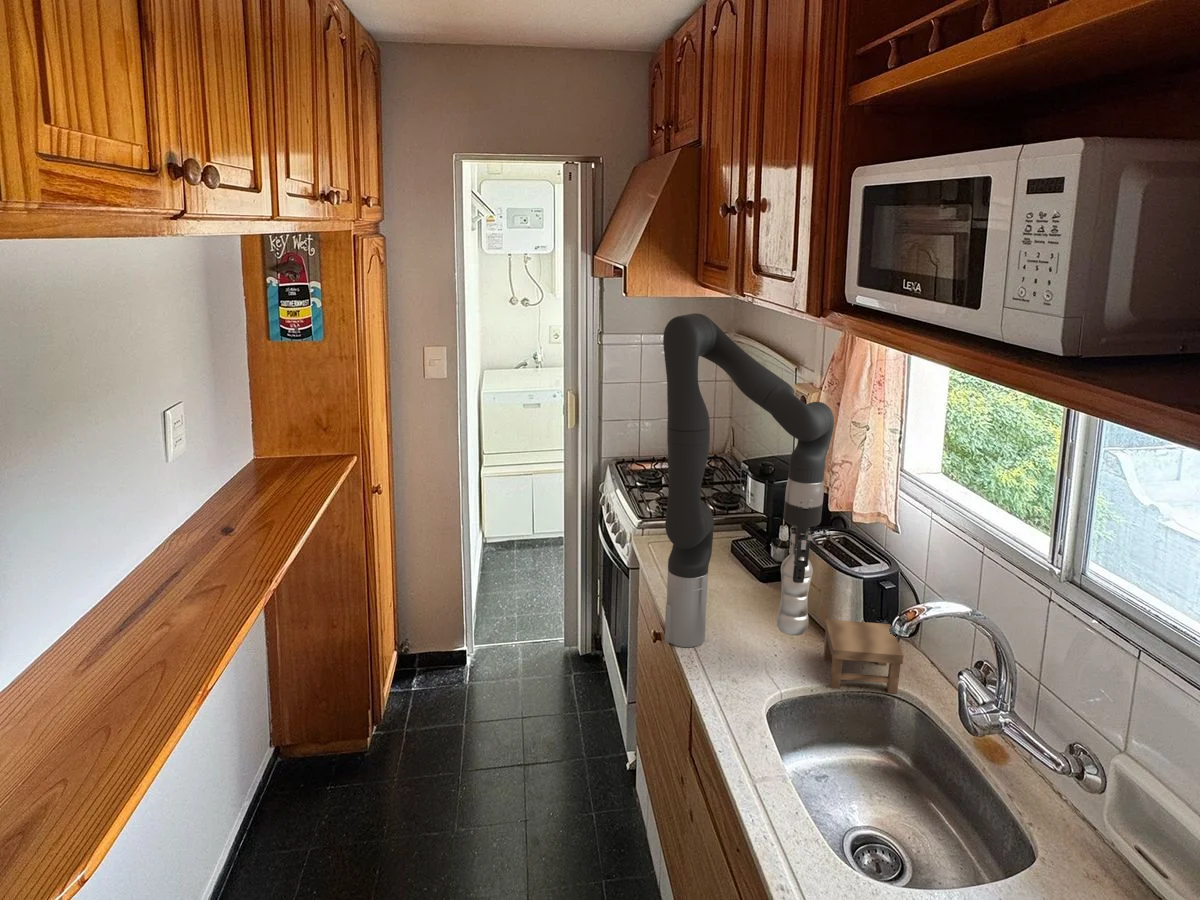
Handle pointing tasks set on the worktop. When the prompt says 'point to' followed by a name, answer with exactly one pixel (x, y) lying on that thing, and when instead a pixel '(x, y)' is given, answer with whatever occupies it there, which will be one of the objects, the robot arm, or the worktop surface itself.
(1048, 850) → the worktop surface
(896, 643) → the walnut stool
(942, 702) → the worktop surface
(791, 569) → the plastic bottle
